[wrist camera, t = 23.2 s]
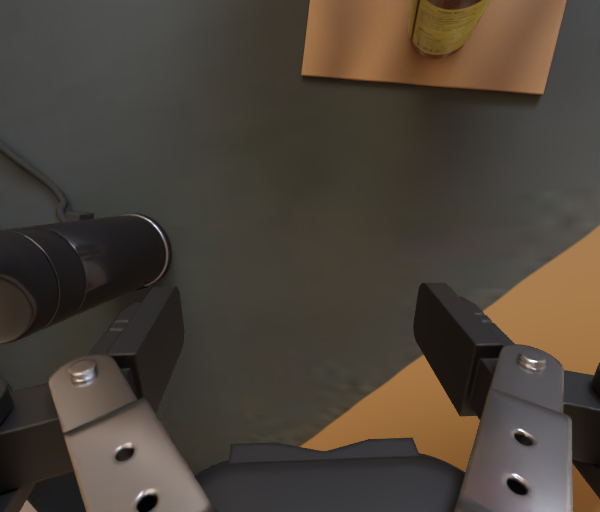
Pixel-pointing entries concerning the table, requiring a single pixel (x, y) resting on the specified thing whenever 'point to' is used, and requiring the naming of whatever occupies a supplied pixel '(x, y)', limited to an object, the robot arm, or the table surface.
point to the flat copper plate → (425, 71)
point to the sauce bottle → (443, 25)
